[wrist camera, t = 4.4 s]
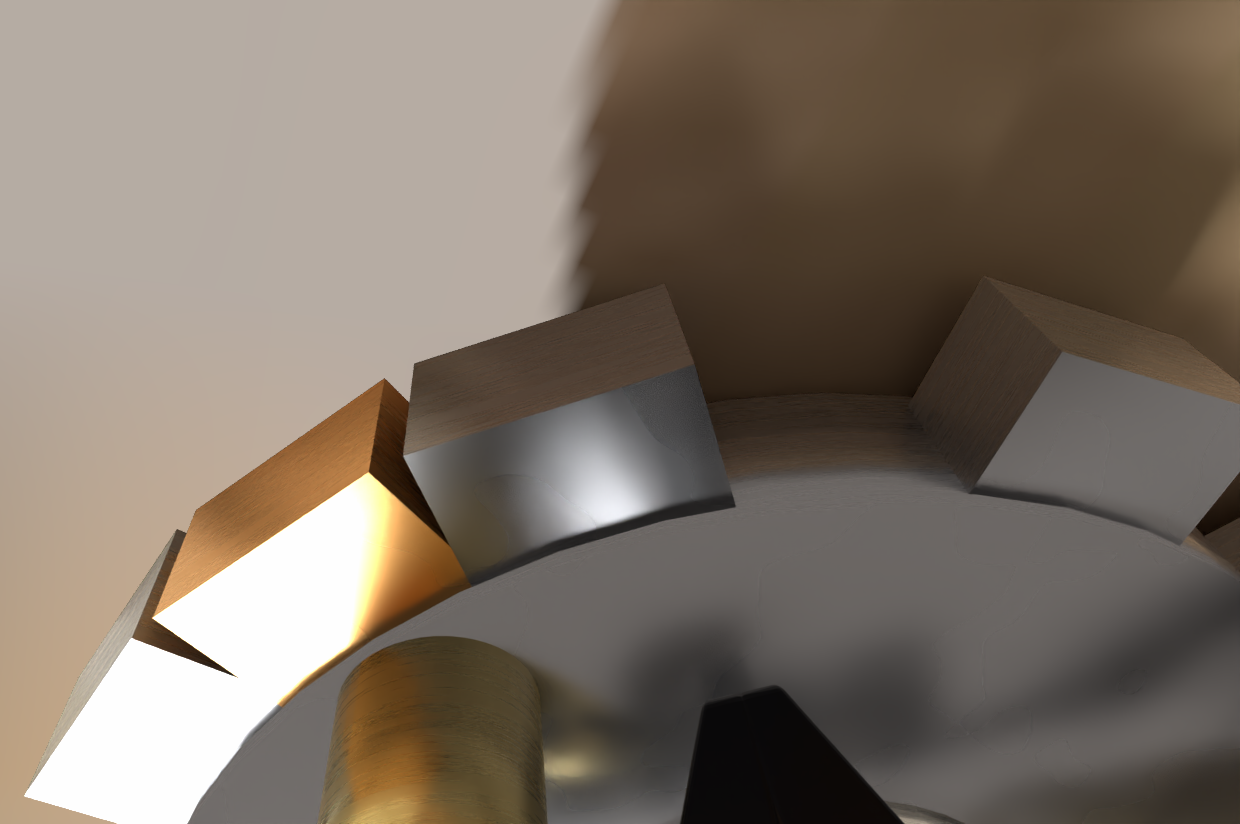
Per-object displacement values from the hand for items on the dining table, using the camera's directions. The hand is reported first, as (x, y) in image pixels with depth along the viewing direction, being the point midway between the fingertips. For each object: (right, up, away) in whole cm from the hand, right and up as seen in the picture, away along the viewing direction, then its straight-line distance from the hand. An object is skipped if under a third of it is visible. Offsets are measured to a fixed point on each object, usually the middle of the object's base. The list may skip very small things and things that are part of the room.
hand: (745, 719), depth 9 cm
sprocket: (+1, -3, +6) cm, 7 cm away
